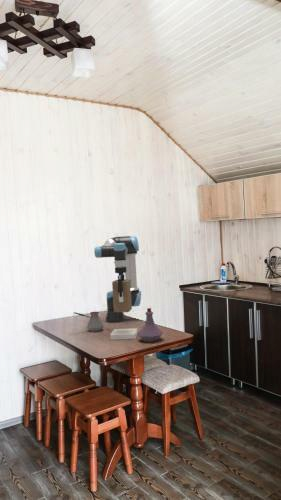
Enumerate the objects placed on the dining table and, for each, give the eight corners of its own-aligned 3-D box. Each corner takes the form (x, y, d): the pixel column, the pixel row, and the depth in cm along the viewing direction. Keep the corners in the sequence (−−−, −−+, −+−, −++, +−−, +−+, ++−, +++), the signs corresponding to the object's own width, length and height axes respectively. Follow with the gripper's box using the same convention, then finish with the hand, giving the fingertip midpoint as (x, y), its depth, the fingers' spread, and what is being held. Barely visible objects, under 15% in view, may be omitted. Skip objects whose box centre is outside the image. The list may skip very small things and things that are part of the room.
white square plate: (114, 333, 295) (113, 329, 295) (137, 332, 293) (137, 328, 293) (110, 339, 279) (110, 335, 279) (135, 338, 277) (135, 334, 277)
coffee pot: (100, 327, 314) (98, 307, 313) (106, 330, 304) (104, 309, 303) (71, 332, 305) (70, 311, 304) (76, 335, 294) (75, 313, 294)
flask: (169, 339, 272) (167, 307, 271) (150, 345, 261) (149, 312, 260) (150, 335, 284) (148, 305, 283) (132, 341, 273) (130, 309, 272)
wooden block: (128, 312, 279) (127, 281, 278) (113, 312, 281) (111, 281, 280) (132, 309, 289) (130, 279, 288) (117, 309, 291) (115, 279, 290)
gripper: (117, 265, 296) (119, 297, 297) (112, 268, 273) (114, 303, 274) (128, 264, 295) (129, 297, 296) (124, 268, 272) (125, 303, 273)
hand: (122, 300), depth 285 cm, fingers closed on wooden block, 10 cm apart
